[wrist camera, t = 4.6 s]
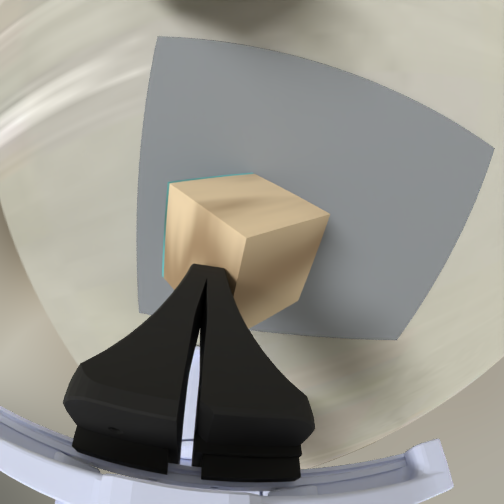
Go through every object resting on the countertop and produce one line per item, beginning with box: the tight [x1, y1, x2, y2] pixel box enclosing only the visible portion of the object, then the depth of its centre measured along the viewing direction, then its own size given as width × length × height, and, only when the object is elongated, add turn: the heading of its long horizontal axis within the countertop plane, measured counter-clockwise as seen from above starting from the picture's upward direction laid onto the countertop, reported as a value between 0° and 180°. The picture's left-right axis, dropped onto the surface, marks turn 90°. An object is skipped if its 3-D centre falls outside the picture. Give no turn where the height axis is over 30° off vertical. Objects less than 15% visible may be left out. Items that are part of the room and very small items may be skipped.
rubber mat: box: [137, 36, 495, 340], centre depth 19 cm, size 20×24×1 cm
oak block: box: [162, 173, 330, 329], centre depth 15 cm, size 6×6×6 cm
